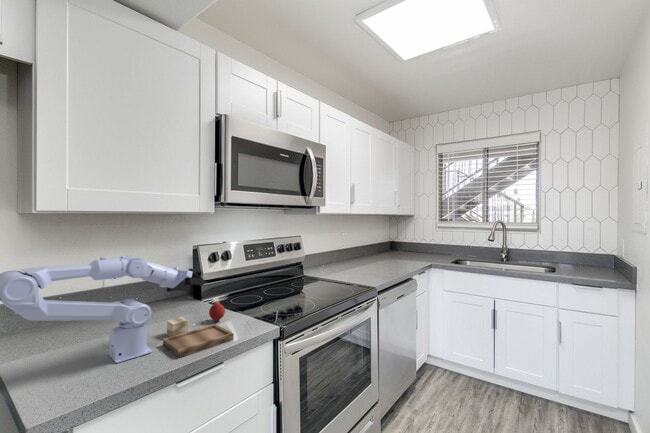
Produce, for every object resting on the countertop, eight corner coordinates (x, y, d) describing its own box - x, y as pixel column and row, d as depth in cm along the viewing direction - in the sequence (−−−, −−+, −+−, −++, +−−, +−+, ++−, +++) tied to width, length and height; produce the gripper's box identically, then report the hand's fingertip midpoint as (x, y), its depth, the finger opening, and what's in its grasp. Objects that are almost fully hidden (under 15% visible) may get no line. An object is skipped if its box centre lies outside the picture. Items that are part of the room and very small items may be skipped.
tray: (178, 358, 90) (179, 350, 90) (162, 345, 98) (162, 338, 98) (233, 339, 104) (233, 333, 104) (215, 330, 112) (215, 324, 112)
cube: (172, 338, 104) (172, 324, 104) (166, 334, 107) (166, 320, 107) (187, 334, 108) (187, 320, 108) (181, 330, 111) (181, 316, 111)
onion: (219, 324, 117) (219, 303, 117) (206, 323, 119) (206, 302, 118) (227, 319, 123) (227, 299, 123) (214, 318, 124) (214, 298, 124)
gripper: (177, 257, 98) (211, 269, 108) (149, 268, 104) (184, 279, 114) (173, 278, 94) (209, 288, 105) (144, 289, 101) (181, 298, 111)
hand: (196, 285), depth 109 cm, fingers open, 7 cm apart
